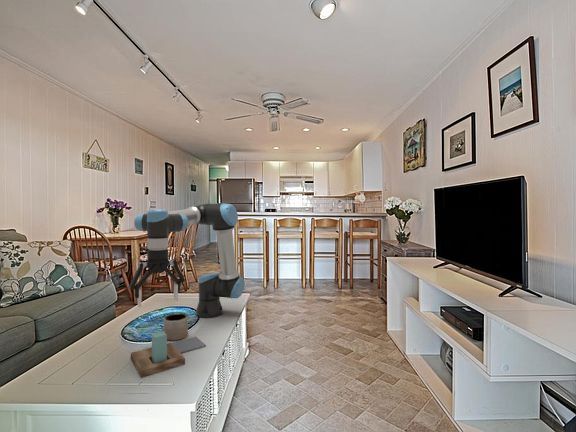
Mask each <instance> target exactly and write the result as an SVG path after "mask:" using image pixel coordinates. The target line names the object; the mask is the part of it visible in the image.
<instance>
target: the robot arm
mask: <svg viewBox="0 0 576 432" xmlns="http://www.w3.org/2000/svg"><path fill="white" fill-rule="evenodd" d="M238 219H239V216H238V210H237V208H236V207H235V205H233V204H231V203H204V204H198V205H194V206H188V207H187V208H185V209H178V210H169V211H168V210H167V209H148V211H147V213H139V214H138V215H136V216H135V218H134V223H133V224H134V227H135V229H136V230H138V231H139V232H144V233H145V232H147V236H146V237H147V239H146V240H147V241H146V243H147V244H146V247H147V248H146V249H147V257H146V258H147V261H146V262H138V265H137V268H136V269H137V270H136V271H135V273H134V276H133V277H132V279H131V281H130V283H129V285H128V287H129V289H130V290H133V291H134V298H135V299H137V306H138V308H142V289H141V287H142V286H143V285H144V283H146V281H147V279H148V278H149V277H150V276H151V275H152V274H159V273H160V274H161V273H164V272H165V273H166V274H167V275H168V276H169V277H170V278H171V279H172V280H173V281H174V283H173V300H174V301H175V302H178V300H179V293H180V292H181V284H182V283H184V282H185V280H186V279H185V277H184V276H183V274H182V271H181V270H180V268H179V266H178V262H177V260H176V259H175V258H173V259H172V260H169V249H168V248H169V233H180V232H183V231H185V230H187V228H188V226H189V225H203V226H204V225H205V226H211V227H212V231H214V232H215V234H216V242H217V250H218V252H217V253H218V261H219V265H220V266H219V267H220V273H219V272H211V273H205V274H202V275H200V276H199V277H198V302H197V303H198V304H197V307H196V310H195V315H196V314H197V315H199V317H198V318H203V319H204V318H205V319H209V318H216V317H219V316H221V315H222V314H223V313H224V311H223V310H224V309H223V306H222V303H221V300H220V298H226V299H238V298H240V297H241V296H242V295H243V292H244V289H245V282H246V281H245V279H244V278H243V277H241V276H240V272H239V271H237V263H236V262H237V261H236V254H235V243H234V236H233V230H234V229H235V225H237V223H238ZM169 266H172V268H173V270H174V272H175V274H176V275H177V277H176V275H175V274H174V273H172V271H171V270H170V269H169ZM145 267H147V270H146V271H145V273H144V274H143V275H142V277H141V274H142V273H143V270H144V269H145ZM140 277H141V278H140ZM139 278H140V279H139Z"/></svg>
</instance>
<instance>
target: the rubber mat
mask: <svg viewBox="0 0 576 432" xmlns="http://www.w3.org/2000/svg"><path fill="white" fill-rule="evenodd" d="M170 343H171V344H172V345H173V346H174V347H175V348H176V349H177V350H178V351H179V352H180V353H181V354H184V353H188V352H191V351H195V350H199V349H202V348H206V347H207V345H206V344H205V343H204V342H203V341H202V340H201V339H199V338H198V337H197V336H192V337H189V338H184V339H181V340H177V341H171V342H170Z"/></svg>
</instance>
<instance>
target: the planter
mask: <svg viewBox="0 0 576 432" xmlns="http://www.w3.org/2000/svg"><path fill="white" fill-rule="evenodd" d="M188 317H189V315H188V314H187V313H182V312H181V313H178V312H176V313H171V314H169V315H165V316H164V318H163V331H164V332H165V334H166V335H167V341H169V342H176V341H180V340H184V339H186V338H187V337H188V335H189V318H188Z"/></svg>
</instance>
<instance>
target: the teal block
mask: <svg viewBox="0 0 576 432" xmlns="http://www.w3.org/2000/svg"><path fill="white" fill-rule="evenodd" d="M167 343H168V340H167V335H166V334H165V332H164V330H163V331H158V332H154V333H151V347H152V363H153V364H154V363H158V362H161V361H165V360H167Z"/></svg>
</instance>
